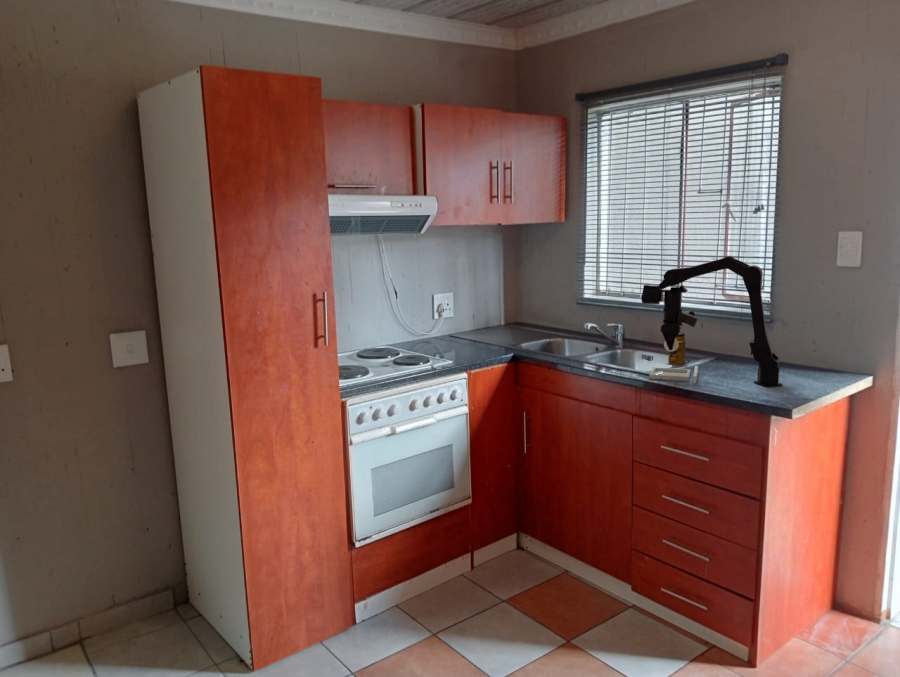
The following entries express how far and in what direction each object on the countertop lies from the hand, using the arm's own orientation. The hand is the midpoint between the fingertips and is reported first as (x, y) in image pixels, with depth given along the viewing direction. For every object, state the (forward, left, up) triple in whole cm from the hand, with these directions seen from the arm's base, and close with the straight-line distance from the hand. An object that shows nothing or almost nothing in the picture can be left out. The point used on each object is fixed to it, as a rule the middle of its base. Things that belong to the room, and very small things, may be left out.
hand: (671, 348), depth 242 cm
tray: (0, 0, -10) cm, 10 cm away
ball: (0, 0, +2) cm, 2 cm away
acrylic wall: (-5, -7, -10) cm, 13 cm away
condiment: (+20, -14, -10) cm, 26 cm away
